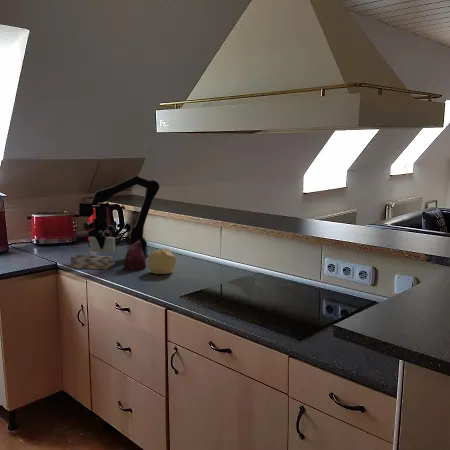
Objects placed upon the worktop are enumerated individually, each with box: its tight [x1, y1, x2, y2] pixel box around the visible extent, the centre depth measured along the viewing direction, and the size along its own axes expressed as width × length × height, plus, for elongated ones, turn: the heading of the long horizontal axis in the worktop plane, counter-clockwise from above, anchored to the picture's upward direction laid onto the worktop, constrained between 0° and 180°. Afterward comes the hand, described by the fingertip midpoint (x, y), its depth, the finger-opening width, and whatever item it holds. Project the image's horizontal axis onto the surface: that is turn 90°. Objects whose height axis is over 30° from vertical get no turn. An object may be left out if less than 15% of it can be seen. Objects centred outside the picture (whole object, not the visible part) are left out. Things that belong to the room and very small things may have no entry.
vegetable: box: [123, 240, 147, 272], centre depth 218 cm, size 10×10×15 cm
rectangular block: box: [89, 236, 116, 253], centre depth 234 cm, size 12×2×7 cm, turn 79°
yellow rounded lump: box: [147, 248, 177, 275], centre depth 210 cm, size 11×12×11 cm
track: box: [68, 254, 116, 270], centre depth 223 cm, size 18×10×4 cm, turn 79°
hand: (102, 248), depth 234 cm, fingers closed on rectangular block, 2 cm apart
